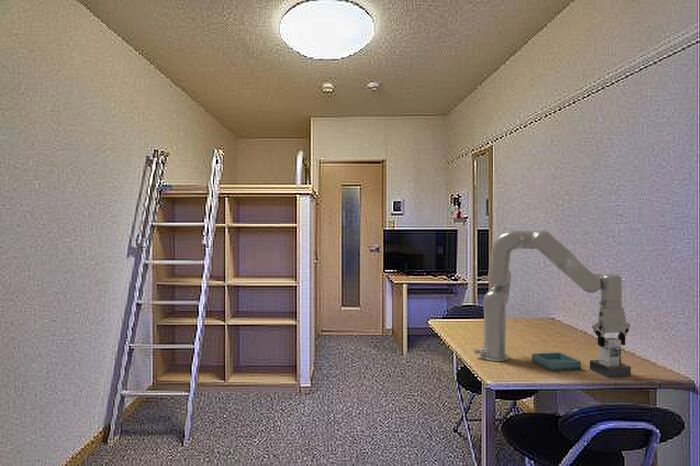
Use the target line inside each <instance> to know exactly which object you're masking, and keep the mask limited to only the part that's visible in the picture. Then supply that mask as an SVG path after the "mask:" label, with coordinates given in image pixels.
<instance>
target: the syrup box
mask: <svg viewBox="0 0 700 466" xmlns="http://www.w3.org/2000/svg"><path fill="white" fill-rule="evenodd" d="M604 337H605V336H604ZM598 346H599V345H598ZM598 348H599V351H598V352H599V353H598V354H599V359H598V360H599V363H601V364H604V365H606V366H609V367H611V366H621V363H622V345H621V340H619V339H618V337H612V336H609V337H605V346H604V347H602V346H599V347H598Z"/></svg>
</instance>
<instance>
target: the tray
mask: <svg viewBox="0 0 700 466" xmlns="http://www.w3.org/2000/svg"><path fill="white" fill-rule="evenodd" d="M531 362H533V363H534V364H537V365H538V366H540V367H542V368H544V369H546V370H548V371H551V372H562V371H564V372H565V371H577V370H578V371H580V370H581V369H582V368H581V367H582V362H581V360H579V359H577V358H575V357H572V356H570V355H567V354H565V353H562V352H559V351H558V352H540V353H539V352H538V353H531Z"/></svg>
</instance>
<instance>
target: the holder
mask: <svg viewBox="0 0 700 466" xmlns="http://www.w3.org/2000/svg"><path fill="white" fill-rule="evenodd" d="M589 370H590V371H592V372H595V373H597V374H599V375H601V376H603V377H606V378H609V379H610V378H623V377H625V378H628V377H631V376H632V374H631V372H632V367H631V366H630V365H628V364H626V363H622V362H621V366H611V367H609V366H606V365H604V364H601V363H599V359H590V360H589Z"/></svg>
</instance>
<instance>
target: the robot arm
mask: <svg viewBox="0 0 700 466" xmlns="http://www.w3.org/2000/svg"><path fill="white" fill-rule="evenodd" d="M521 249H522V250H523V249H525V250H538V252H540V254H542V255H544V257H545V258H547V260H549V261H550V262H551V263H552V264H553V265H555V267H556V268H558V269H559V271H561V272H563V274H564V275H566V276H567V277H568V278H569V279H570V280H571V281H572V282H573V283H574V284H576V285H577V286H578V287H579V288H581V289H582V290H583V292H586V293H587V294H588V293H589V294H593V293H594V294H595V293H597V292H598V291H600V301H599V303H598V304H599V306H600V307H599V311H598V316H597V317H598V318H597V322H596V323H595V324H593V325H592V326H591V328H592V330H593V332H594V333H595V335H596V336H597V345H598V346H602V347H604V346H605V335H606V333H608V334H609V333H610V334H611V333H618V334H617V339H619V340H621V346H626V336H627V334H628V332H629V331H630V328H631V324H630V323H628V322H627V321H626V320H627V319H626V312H625V308H624V307H623V306H622V305H623V303H622V302H623V301H622V300H623V299H622V297H623V296H622V293H623V292H622V291H623V290H622V288H623V287H622V285H623V284H622V282H623V281H622V276H620V275H619V274H611V273H610V274H609V273H608V274H606V273H605V274H600V273H595V272H592V271H590V270H589V269H588V268H587V267H586V266H584V264H583V263H582V262H580V261H579V259H577V257H576V256H575V254H574V253H572V252H571V251H570V250H569V249H568V248H567V247H566V246H565V245H563V244H562V243H561V242H560V241H559V240H557V239H556V238H555V237H554V236H553V235H552V234H551V233H550V232H549V231H546V230H509V231H508V232H505V233H502V234H501V235H499V236H498V237H497V238H496V239H495V241H494V242H493V244H492V247H491V253H490V259H489V267H488V273H487V280H488V283H489V287H488V291H487V292H486V293H485V294H484V296H483V316H484V317H483V346H481V348H480V349H473V353H474V354H475V355H476V354H477V355H478V354H479V355H480V358H481V359H482V360H486V361H491V362H506V361H508V360H509V359H510V356H509V355H508V354H506V341H507V340H506V335H507V334H506V333H507V332H506V330H507V329H506V328H507V320H506V319H507V315H506V313H507V312H506V305H507V303H508V301H509V297H510V290H511V289H510V288H511V281H512V280H511V279H512V273H511V270H510V262H511V253H512V252H513V251H514V250H521Z"/></svg>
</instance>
